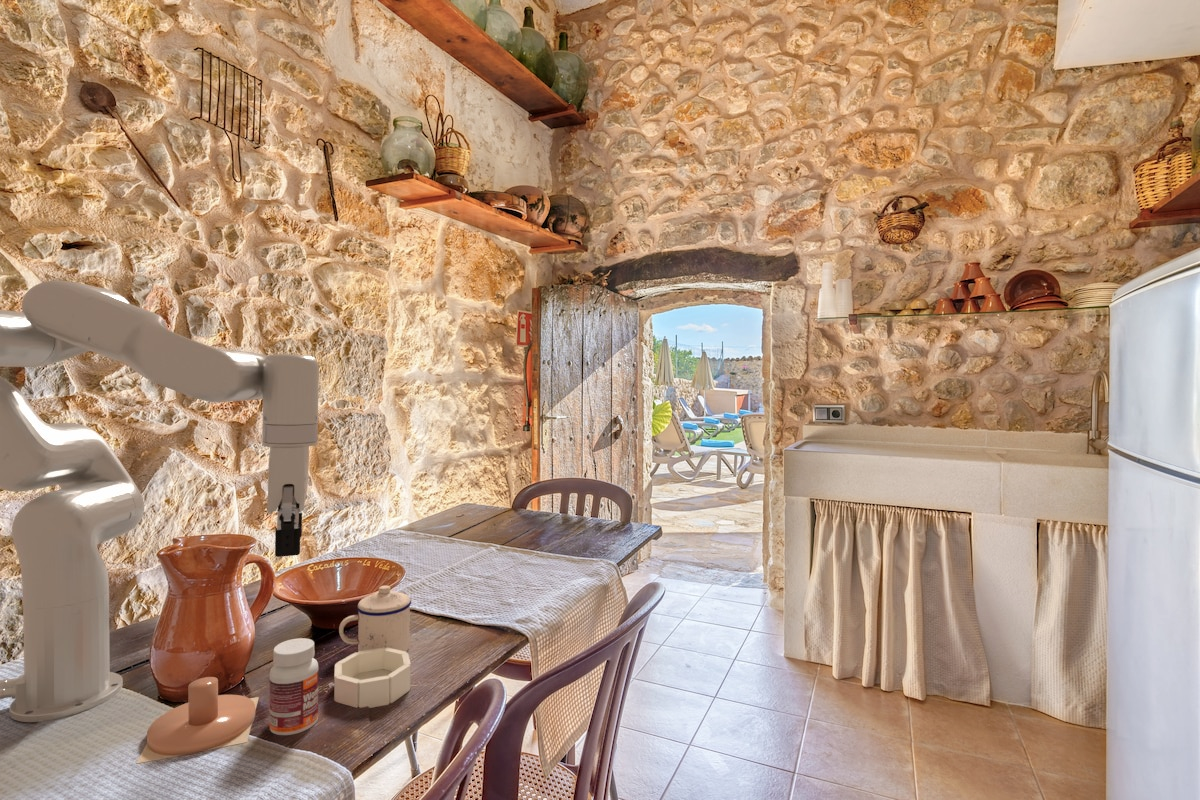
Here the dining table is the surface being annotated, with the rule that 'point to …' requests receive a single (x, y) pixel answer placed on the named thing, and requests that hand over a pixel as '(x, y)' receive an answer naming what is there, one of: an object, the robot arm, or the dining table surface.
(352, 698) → the bowl
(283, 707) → the pill bottle
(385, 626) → the teacup with lid
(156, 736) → the lid
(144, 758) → the mat
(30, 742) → the dining table surface
